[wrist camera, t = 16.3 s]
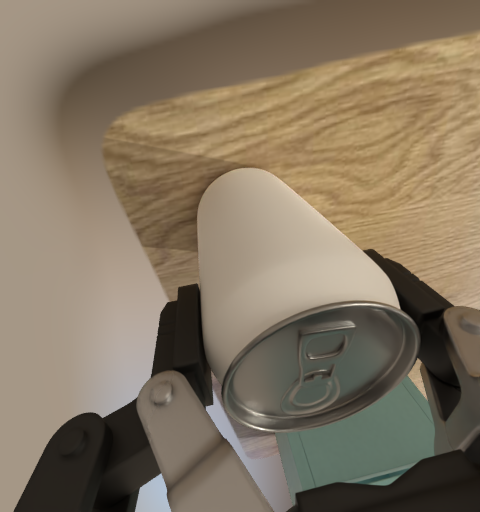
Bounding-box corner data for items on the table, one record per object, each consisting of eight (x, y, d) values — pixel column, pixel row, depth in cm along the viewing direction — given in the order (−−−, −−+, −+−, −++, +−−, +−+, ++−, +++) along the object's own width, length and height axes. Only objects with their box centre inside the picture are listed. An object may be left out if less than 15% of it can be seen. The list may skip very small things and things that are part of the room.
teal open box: (362, 414, 36) (413, 508, 28) (275, 435, 35) (301, 539, 27) (382, 343, 28) (465, 448, 19) (268, 369, 27) (303, 492, 18)
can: (201, 260, 18) (214, 455, 8) (190, 168, 15) (189, 309, 5) (286, 251, 19) (394, 419, 9) (295, 162, 16) (483, 272, 6)
